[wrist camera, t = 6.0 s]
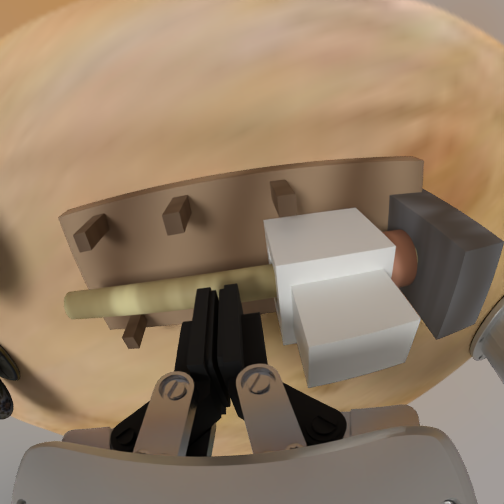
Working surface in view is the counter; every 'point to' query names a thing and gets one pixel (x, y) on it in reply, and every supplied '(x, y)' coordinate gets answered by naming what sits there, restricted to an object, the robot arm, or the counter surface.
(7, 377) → the apothecary jar
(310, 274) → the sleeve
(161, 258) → the pegged board
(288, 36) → the counter surface
